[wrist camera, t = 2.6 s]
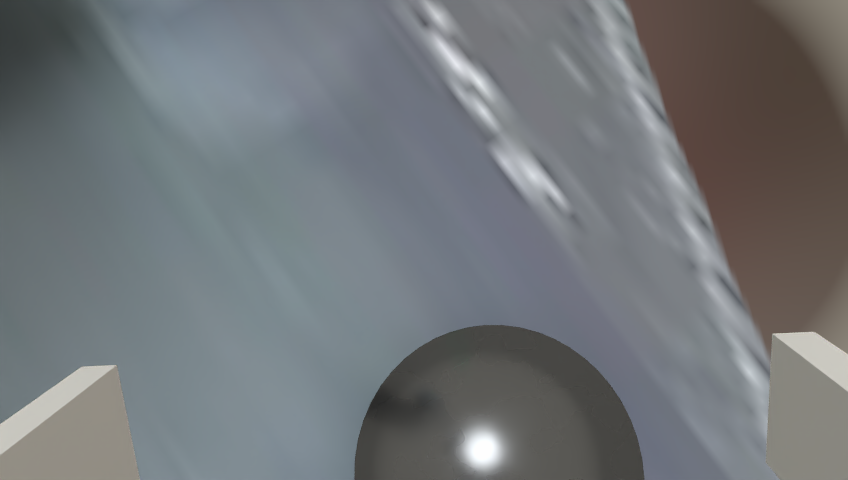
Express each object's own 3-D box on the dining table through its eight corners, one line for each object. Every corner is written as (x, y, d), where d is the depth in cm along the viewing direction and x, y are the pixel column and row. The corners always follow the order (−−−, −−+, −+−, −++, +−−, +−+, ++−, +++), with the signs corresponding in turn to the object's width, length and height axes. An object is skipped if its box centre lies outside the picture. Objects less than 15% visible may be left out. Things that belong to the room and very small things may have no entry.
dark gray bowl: (433, 677, 31) (435, 699, 29) (317, 404, 36) (309, 400, 33) (677, 532, 34) (701, 539, 31) (541, 293, 38) (551, 280, 35)
